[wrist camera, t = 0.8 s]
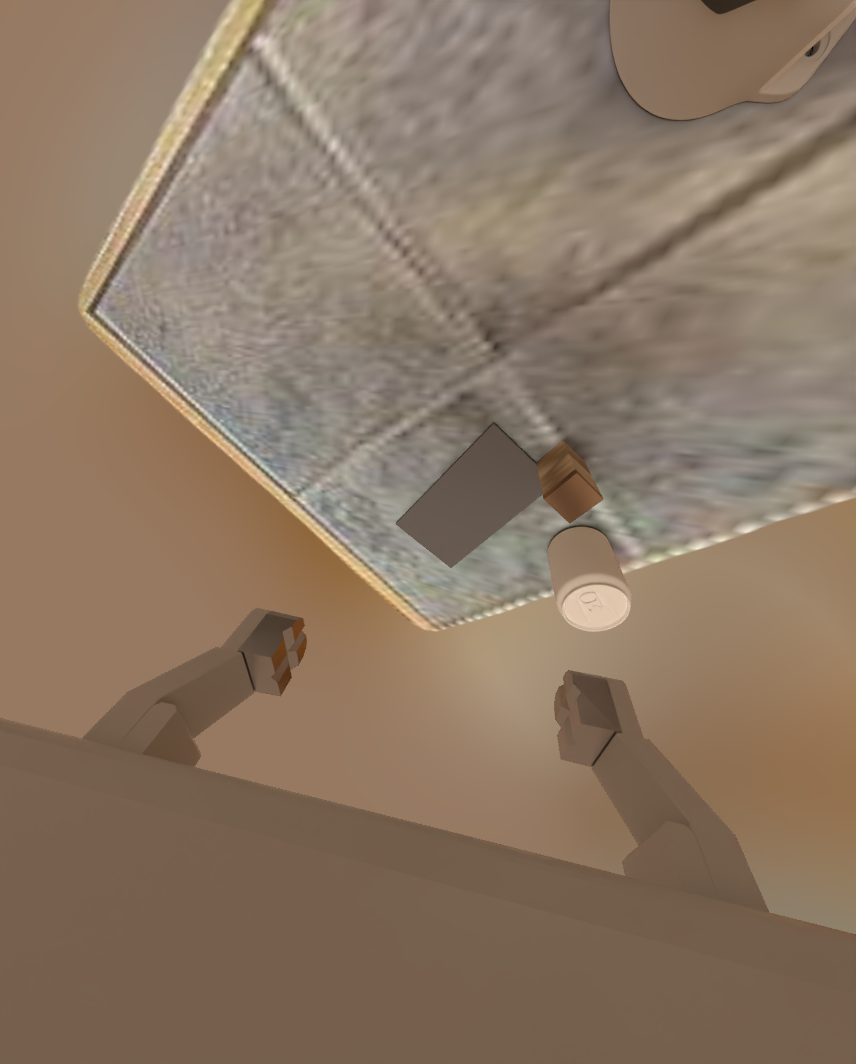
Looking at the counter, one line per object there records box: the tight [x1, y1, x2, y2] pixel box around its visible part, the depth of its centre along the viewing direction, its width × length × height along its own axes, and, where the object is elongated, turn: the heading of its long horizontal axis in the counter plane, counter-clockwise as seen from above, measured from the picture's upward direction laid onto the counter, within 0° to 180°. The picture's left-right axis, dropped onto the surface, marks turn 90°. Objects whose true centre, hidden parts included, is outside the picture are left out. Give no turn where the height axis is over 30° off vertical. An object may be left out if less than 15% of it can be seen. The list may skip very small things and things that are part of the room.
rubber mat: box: [396, 423, 543, 568], centre depth 49 cm, size 20×11×1 cm, turn 140°
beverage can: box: [548, 527, 632, 631], centre depth 45 cm, size 8×8×12 cm
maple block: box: [537, 440, 603, 523], centre depth 40 cm, size 4×4×10 cm
